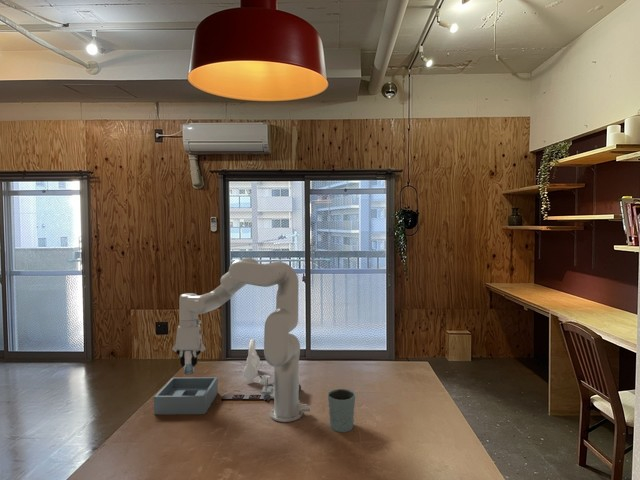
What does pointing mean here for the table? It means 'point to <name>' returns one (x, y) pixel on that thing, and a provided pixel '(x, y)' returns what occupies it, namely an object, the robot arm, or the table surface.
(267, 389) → the toy car
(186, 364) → the peg
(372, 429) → the table surface
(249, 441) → the table surface
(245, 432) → the table surface
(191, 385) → the open box
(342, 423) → the teal cup
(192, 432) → the table surface
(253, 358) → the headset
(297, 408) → the robot arm
